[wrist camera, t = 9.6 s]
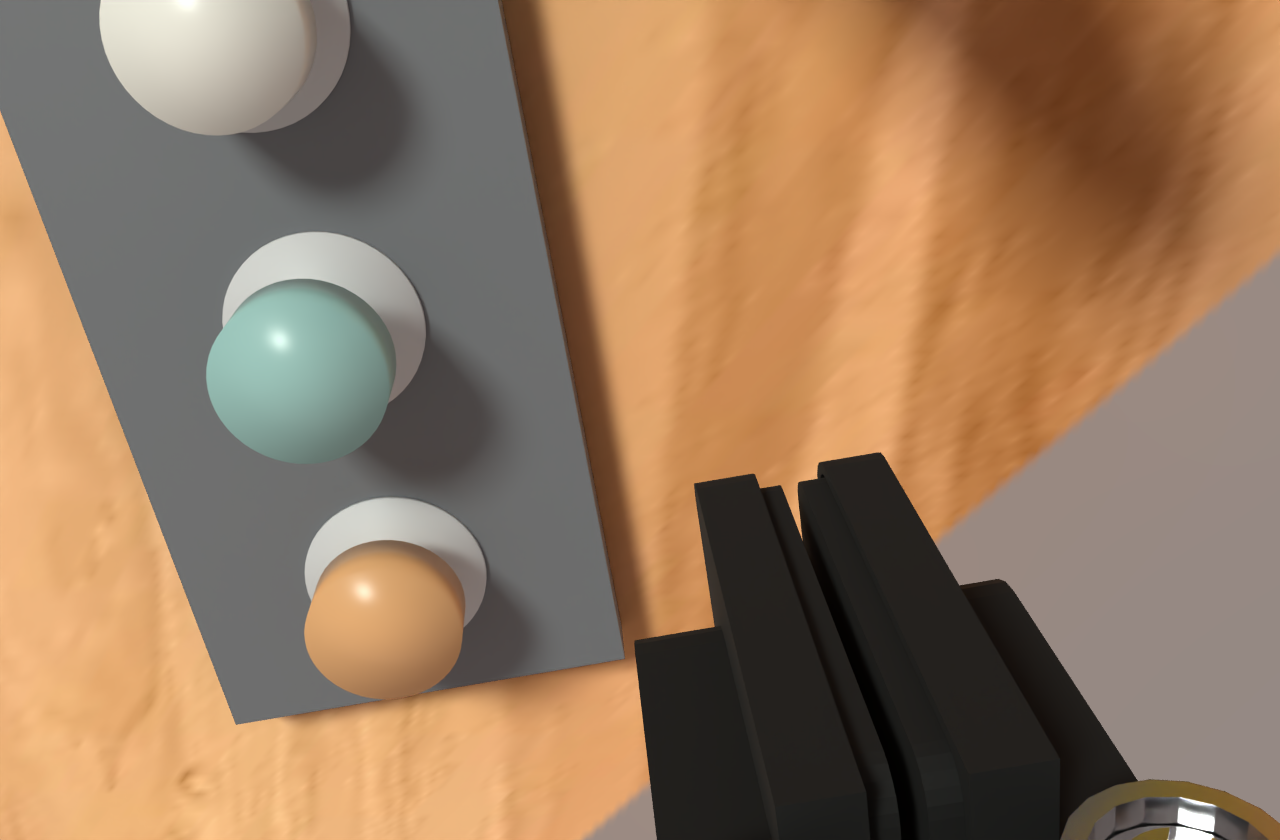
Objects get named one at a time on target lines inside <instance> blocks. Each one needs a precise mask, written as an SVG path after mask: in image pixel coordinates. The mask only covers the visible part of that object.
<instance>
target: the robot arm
mask: <svg viewBox="0 0 1280 840" xmlns="http://www.w3.org/2000/svg"><path fill="white" fill-rule="evenodd" d="M817 477H818V479H814V480H808V481H802V482H799V483H798V500H799V510H800V519H801V529H802V538H803V541H802V538H801V536H800V533H799V530H798V528H797V525H796V523H795V520H794V517H793V515H792V512H791V510H790V507H789V505H788V502H787V499H786V497H785V494H784V492H783V489H782V487H781V486H780V485H778V486H773V487H767V488H761V489H760V487H759V484H758V482H757V479H756V476H755V474H748V475H742V476H736V477H730V478H724V479H718V480H712V481H707V482H701V483H695V484H694V488H695V497H696V504H697V511H698V518H699V524H700V531H701V538H702V544H703V551H704V558H705V564H706V571H707V578H708V585H709V591H710V598H711V605H712V611H713V618H714V625H715V627H712V628H706V629H700V630H694V631H688V632H682V633H676V634H670V635H665V636H659V637H653V638H647V639H641V640H635V643H634V645H635V655H636V664H637V672H638V681H639V690H640V698H641V707H642V715H643V724H644V733H645V741H646V750H647V758H648V767H649V775H650V784H651V793H652V801H653V809H654V818H655V826H656V835H657V840H1280V823H1278V822H1277V821H1276V820H1275V819H1274V818H1272V817H1271V816H1270V815H1268V814H1267V813H1266V812H1265V811H1263V810H1262V809H1260V808H1258V807H1256V806H1254V805H1252V804H1250V803H1248V802H1246V801H1244V800H1242V799H1240V798H1238V797H1235V796H1233V795H1231V794H1229V793H1227V792H1225V791H1221V790H1217V789H1213V788H1209V787H1205V786H1202V785H1198V784H1194V783H1190V782H1185V781H1168V780H1151V779H1149V780H1144V781H1138V780H1137V779H1136V777H1135V776H1134V774H1133V773H1132V771H1131V770H1130V768H1129V767H1128V765H1127V764H1126V762H1125V761H1124V759H1123V757H1122V756H1121V754H1120V753H1119V751H1118V750H1117V748H1116V747H1115V745H1114V744H1113V743H1112V741H1111V739H1110V738H1109V736H1108V735H1107V733H1106V731H1105V730H1104V729H1103V727H1102V725H1101V724H1100V722H1099V721H1098V719H1097V718H1096V716H1095V715H1094V713H1093V712H1092V710H1091V709H1090V707H1089V706H1088V704H1087V702H1086V701H1085V700H1084V698H1083V696H1082V695H1081V694H1080V692H1079V690H1078V689H1077V687H1076V686H1075V684H1074V683H1073V681H1072V679H1071V678H1070V676H1069V675H1068V673H1067V672H1066V670H1065V669H1064V667H1063V666H1062V664H1061V663H1060V661H1059V660H1058V658H1057V657H1056V655H1055V653H1054V652H1053V650H1052V649H1051V647H1050V646H1049V644H1048V643H1047V641H1046V640H1045V638H1044V637H1043V635H1042V634H1041V632H1040V631H1039V629H1038V627H1037V626H1036V624H1035V623H1034V621H1033V620H1032V618H1031V617H1030V615H1029V614H1028V612H1027V611H1026V609H1025V608H1024V606H1023V605H1022V603H1021V601H1020V600H1019V598H1018V597H1017V595H1016V594H1015V592H1014V591H1013V590H1012V589H1011V588H1010V586H1009V585H1008V584H1007V583H1006V582H1005V581H1002V580H1000V579H995V580H989V581H983V582H978V583H972V584H966V585H960V586H959V584H958V583H957V581H956V579H955V578H954V576H953V574H952V572H951V571H950V569H949V567H948V565H947V564H946V562H945V560H944V559H943V557H942V555H941V554H940V552H939V550H938V548H937V547H936V545H935V543H934V541H933V540H932V538H931V536H930V535H929V533H928V531H927V529H926V528H925V526H924V524H923V523H922V521H921V519H920V517H919V516H918V514H917V512H916V511H915V509H914V507H913V505H912V504H911V502H910V500H909V498H908V497H907V495H906V493H905V492H904V490H903V488H902V486H901V485H900V483H899V481H898V480H897V478H896V476H895V474H894V473H893V471H892V469H891V468H890V466H889V464H888V462H887V461H886V459H885V457H884V456H883V455H882V454H881V453H872V454H866V455H860V456H854V457H849V458H843V459H837V460H831V461H825V462H819V464H818V472H817Z"/></svg>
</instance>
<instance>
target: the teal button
mask: <svg viewBox="0 0 1280 840" xmlns="http://www.w3.org/2000/svg"><path fill="white" fill-rule="evenodd" d="M395 375H396V353H395V348H394V344H393V341H392V338H391V335H390V333H389V331H388V329H387V327H386V325H385V324H384V322H383V321H382V319H381V318H380V316H379V315H378V314H377V313H376V312H375V310H374V309H373V308H372V307H371V306H370V305H369V304H367V303H366V302H365V301H364V300H363V299H361V298H360V297H359V296H357V295H356V294H354V293H352V292H351V291H349V290H347V289H345V288H343V287H340V286H338V285H335V284H333V283H329V282H325V281H322V280H315V279H290V280H284V281H279V282H275V283H273V284H270V285H267V286H265V287H263V288H261V289H259V290H258V291H256V292H254V293H253V294H252V295H250V296H249V297H248V298H247V299H246V300H245V301H244V302H243V303H242V304H241V305H240V306H239V307H238V308H237V310H236V311H235V312H234V314H233V315H232V317H231V318H230V319H229V321H228V322H227V324H226V325H225V326H224V328H223V329H222V331H221V332H220V334H219V335H218V336H217V338H216V340H215V342H214V344H213V346H212V348H211V351H210V354H209V357H208V362H207V367H206V381H207V389H208V393H209V396H210V400H211V402H212V405H213V407H214V410H215V411H216V413H217V415H218V416H219V418H220V420H221V421H222V422H223V424H224V425H225V426H226V428H227V429H228V430H229V431H230V432H231V433H232V434H233V435H234V436H235V437H236V438H237V439H238V440H240V441H241V442H242V443H243V444H245V445H246V446H248V447H249V448H251V449H253V450H254V451H256V452H258V453H260V454H262V455H264V456H267V457H270V458H273V459H275V460H279V461H283V462H288V463H296V464H315V463H323V462H327V461H332V460H335V459H338V458H340V457H343V456H345V455H347V454H349V453H351V452H353V451H354V450H356V449H357V448H359V447H360V446H362V445H363V444H364V443H365V442H366V441H367V440H368V439H369V438H370V437H371V436H372V435H373V433H374V432H375V431H376V429H377V428H378V426H379V424H380V423H381V421H382V419H383V416H384V414H385V411H386V408H387V404H388V401H389V398H390V394H391V391H392V387H393V384H394V380H395Z"/></svg>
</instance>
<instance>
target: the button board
mask: <svg viewBox="0 0 1280 840" xmlns="http://www.w3.org/2000/svg"><path fill="white" fill-rule="evenodd" d="M310 2H311V5H312V8H313V11H314V16H315V21H316V29H317V46H316V54H315V59H314V63H313V66H312V69H311V71H310V74H309V76H308V78H307V80H306V82H305V84H304V85H303V86H302V88H301V89H300V91H299V92H298V93H297V94H296V95H295V96H294V97H293V98H292V99H291V101H289V102H288V103H287V104H286V105H285V106H284V107H283V108H282V109H281V110H279V111H278V112H277V113H276V114H275V115H274V116H272V117H271V118H270V119H268V120H267V121H266V122H264V123H262V124H260V125H259V126H257V127H255V128H252V129H250V130H247V131H244V132H240V133H236V134H231V135H221V136H216V135H203V134H196V133H192V132H188V131H185V130H181V129H179V128H176V127H174V126H172V125H169V124H167V123H166V122H164V121H162V120H160V119H158V118H157V117H155V116H154V115H152V114H151V113H150V112H148V111H147V110H146V109H144V108H143V107H142V106H141V105H140V104H139V103H138V102H137V101H135V100H134V98H133V97H132V96H131V95H130V94H129V93H128V92H127V91H126V89H125V88H124V87H123V85H122V84H121V82H120V81H119V79H118V78H117V76H116V74H115V73H114V71H113V69H112V67H111V65H110V63H109V60H108V58H107V55H106V53H105V50H104V46H103V42H102V39H101V32H100V19H99V11H100V3H101V0H0V111H1V114H2V116H3V119H4V122H5V124H6V127H7V129H8V132H9V135H10V137H11V140H12V142H13V145H14V148H15V150H16V153H17V155H18V158H19V161H20V163H21V166H22V168H23V171H24V174H25V176H26V179H27V181H28V184H29V187H30V189H31V192H32V195H33V197H34V200H35V202H36V205H37V208H38V210H39V213H40V215H41V218H42V221H43V223H44V226H45V228H46V231H47V234H48V236H49V239H50V241H51V244H52V247H53V249H54V252H55V254H56V257H57V260H58V262H59V265H60V267H61V270H62V273H63V275H64V278H65V280H66V283H67V286H68V288H69V291H70V294H71V296H72V299H73V301H74V304H75V307H76V309H77V312H78V314H79V317H80V320H81V322H82V325H83V327H84V330H85V333H86V335H87V338H88V340H89V343H90V346H91V348H92V351H93V353H94V356H95V359H96V361H97V364H98V366H99V369H100V372H101V374H102V377H103V379H104V382H105V385H106V387H107V390H108V393H109V395H110V398H111V400H112V403H113V406H114V408H115V411H116V413H117V416H118V419H119V421H120V424H121V426H122V429H123V432H124V434H125V437H126V439H127V442H128V445H129V447H130V450H131V452H132V455H133V458H134V460H135V463H136V465H137V468H138V471H139V473H140V476H141V478H142V481H143V484H144V486H145V489H146V492H147V494H148V497H149V499H150V502H151V505H152V507H153V510H154V512H155V515H156V518H157V520H158V523H159V525H160V528H161V531H162V533H163V536H164V538H165V541H166V544H167V546H168V549H169V551H170V554H171V557H172V559H173V562H174V564H175V567H176V570H177V572H178V575H179V577H180V580H181V583H182V585H183V588H184V591H185V593H186V596H187V598H188V601H189V604H190V606H191V609H192V611H193V614H194V617H195V619H196V622H197V624H198V627H199V630H200V632H201V635H202V637H203V640H204V643H205V645H206V648H207V650H208V653H209V656H210V658H211V661H212V663H213V666H214V669H215V671H216V674H217V676H218V679H219V682H220V684H221V687H222V690H223V692H224V695H225V697H226V700H227V703H228V705H229V708H230V710H231V713H232V716H233V718H234V721H235V723H236V725H237V724H243V723H249V722H255V721H261V720H267V719H272V718H278V717H284V716H290V715H296V714H302V713H308V712H314V711H320V710H326V709H331V708H337V707H343V706H349V705H355V704H361V703H367V702H373V701H379V700H385V699H373V698H368V697H363V696H359V695H356V694H353V693H351V692H348V691H346V690H344V689H342V688H340V687H338V686H337V685H335V684H334V683H332V682H331V681H330V680H328V679H327V678H326V677H325V676H324V675H323V674H322V673H321V672H320V671H319V670H318V668H317V667H316V666H315V665H314V663H313V661H312V660H311V658H310V656H309V653H308V651H307V648H306V644H305V636H304V629H305V622H306V618H307V614H308V611H309V608H310V605H311V602H312V599H313V595H314V592H315V589H316V586H317V583H318V581H319V578H320V576H321V574H322V573H323V571H324V569H325V568H326V567H327V566H328V565H329V563H330V562H331V561H332V560H333V559H335V558H336V557H337V556H338V555H340V554H341V553H343V552H344V551H346V550H348V549H350V548H352V547H354V546H357V545H359V544H362V543H366V542H371V541H378V540H396V541H404V542H408V543H412V544H415V545H418V546H421V547H423V548H425V549H427V550H430V551H431V552H433V553H435V554H436V555H438V556H439V557H440V558H442V559H443V560H444V561H445V562H446V563H447V564H448V565H449V566H450V567H451V568H452V569H453V571H454V572H455V573H456V575H457V576H458V578H459V580H460V582H461V584H462V587H463V590H464V595H465V605H466V608H465V618H464V627H463V636H462V644H461V650H460V653H459V657H458V659H457V661H456V663H455V665H454V666H453V668H452V669H451V671H450V672H449V673H448V674H447V675H446V676H445V677H444V678H443V679H442V680H441V681H440V682H439V683H437V684H436V685H434V686H433V687H431V688H430V689H428V690H426V691H424V692H421V693H426V692H432V691H438V690H444V689H449V688H455V687H461V686H467V685H473V684H479V683H485V682H491V681H497V680H503V679H508V678H514V677H520V676H526V675H532V674H538V673H544V672H550V671H556V670H562V669H568V668H573V667H579V666H585V665H591V664H597V663H603V662H609V661H615V660H621V659H625V655H624V645H623V636H622V626H621V621H620V615H619V610H618V605H617V600H616V595H615V589H614V584H613V579H612V574H611V569H610V563H609V558H608V553H607V548H606V542H605V537H604V532H603V527H602V522H601V516H600V511H599V506H598V501H597V495H596V490H595V485H594V480H593V475H592V469H591V464H590V459H589V454H588V448H587V443H586V438H585V433H584V428H583V422H582V417H581V412H580V407H579V401H578V396H577V391H576V386H575V381H574V375H573V370H572V365H571V360H570V355H569V349H568V344H567V339H566V334H565V328H564V323H563V318H562V313H561V308H560V302H559V297H558V292H557V287H556V281H555V276H554V271H553V266H552V261H551V255H550V250H549V245H548V240H547V234H546V229H545V224H544V219H543V214H542V208H541V203H540V198H539V193H538V187H537V182H536V177H535V172H534V167H533V161H532V156H531V151H530V146H529V141H528V135H527V130H526V125H525V120H524V114H523V109H522V104H521V99H520V94H519V88H518V83H517V78H516V73H515V67H514V62H513V57H512V52H511V47H510V41H509V36H508V31H507V26H506V20H505V15H504V10H503V5H502V0H310ZM290 279H315V280H322V281H325V282H329V283H333V284H335V285H338V286H340V287H343V288H345V289H347V290H349V291H351V292H352V293H354V294H356V295H357V296H359V297H360V298H361V299H363V300H364V301H365V302H366V303H367V304H369V305H370V306H371V307H372V308H373V309H374V310H375V312H376V313H377V314H378V315H379V316H380V318H381V319H382V321H383V322H384V324H385V325H386V327H387V329H388V331H389V333H390V335H391V338H392V341H393V344H394V348H395V353H396V375H395V380H394V384H393V387H392V391H391V394H390V398H389V401H388V404H387V408H386V411H385V414H384V416H383V419H382V421H381V423H380V424H379V426H378V428H377V429H376V431H375V432H374V433H373V435H372V436H371V437H370V438H369V439H368V440H367V441H366V442H365V443H364V444H363V445H362V446H360V447H359V448H357V449H356V450H354V451H353V452H351V453H349V454H347V455H345V456H343V457H340V458H338V459H335V460H332V461H327V462H323V463H315V464H296V463H288V462H283V461H279V460H275V459H273V458H270V457H267V456H264V455H262V454H260V453H258V452H256V451H254V450H253V449H251V448H249V447H248V446H246V445H245V444H243V443H242V442H241V441H240V440H238V439H237V438H236V437H235V436H234V435H233V434H232V433H231V432H230V431H229V430H228V429H227V428H226V426H225V425H224V424H223V422H222V421H221V420H220V418H219V416H218V415H217V413H216V411H215V410H214V407H213V405H212V402H211V400H210V396H209V393H208V389H207V381H206V367H207V362H208V357H209V354H210V351H211V348H212V346H213V344H214V342H215V340H216V338H217V336H218V335H219V334H220V332H221V331H222V329H223V328H224V326H225V325H226V324H227V322H228V321H229V319H230V318H231V317H232V315H233V314H234V312H235V311H236V310H237V308H238V307H239V306H240V305H241V304H242V303H243V302H244V301H245V300H246V299H247V298H248V297H249V296H250V295H252V294H253V293H254V292H256V291H258V290H259V289H261V288H263V287H265V286H267V285H270V284H273V283H275V282H279V281H284V280H290ZM419 694H420V693H419Z"/></svg>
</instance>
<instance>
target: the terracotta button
mask: <svg viewBox="0 0 1280 840" xmlns="http://www.w3.org/2000/svg"><path fill="white" fill-rule="evenodd" d="M465 608H466V605H465V595H464V590H463V587H462V584H461V582H460V580H459V578H458V576H457V575H456V573H455V572H454V571H453V569H452V568H451V567H450V566H449V565H448V564H447V563H446V562H445V561H444V560H443V559H442V558H440V557H439V556H438V555H436V554H435V553H433V552H431V551H430V550H427V549H425V548H423V547H421V546H418V545H415V544H412V543H408V542H404V541H396V540H378V541H371V542H366V543H362V544H359V545H357V546H354V547H352V548H350V549H348V550H346V551H344V552H343V553H341V554H340V555H338V556H337V557H336V558H335V559H333V560H332V561H331V562H330V563H329V565H328V566H327V567H326V568H325V569H324V571H323V573H322V574H321V576H320V578H319V581H318V583H317V586H316V589H315V592H314V595H313V599H312V602H311V605H310V608H309V611H308V614H307V618H306V622H305V629H304V636H305V644H306V648H307V651H308V653H309V656H310V658H311V660H312V661H313V663H314V665H315V666H316V667H317V668H318V670H319V671H320V672H321V673H322V674H323V675H324V676H325V677H326V678H327V679H328V680H330V681H331V682H332V683H334V684H335V685H337V686H338V687H340V688H342V689H344V690H346V691H348V692H351V693H353V694H356V695H359V696H363V697H368V698H373V699H399V698H405V697H409V696H413V695H416V694H419V693H421V692H424V691H426V690H428V689H430V688H431V687H433V686H434V685H436V684H437V683H439V682H440V681H441V680H442V679H443V678H444V677H445V676H446V675H447V674H448V673H449V672H450V671H451V669H452V668H453V666H454V665H455V663H456V661H457V659H458V657H459V653H460V650H461V644H462V636H463V627H464V618H465Z"/></svg>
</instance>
